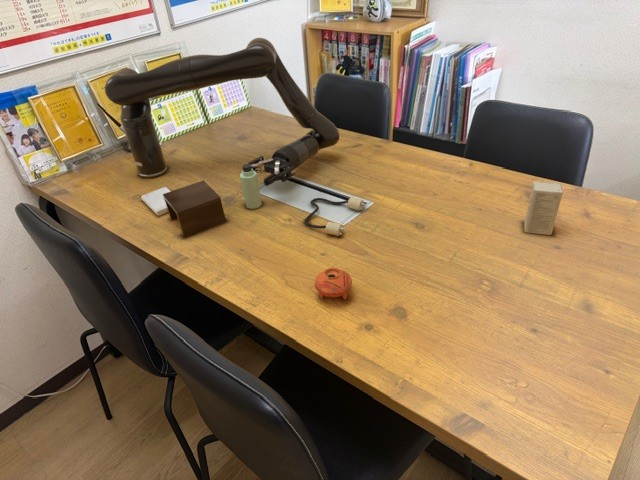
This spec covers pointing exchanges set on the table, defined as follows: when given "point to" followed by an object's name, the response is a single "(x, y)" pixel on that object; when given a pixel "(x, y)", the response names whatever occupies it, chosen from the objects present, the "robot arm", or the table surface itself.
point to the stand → (195, 207)
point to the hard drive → (156, 200)
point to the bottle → (250, 187)
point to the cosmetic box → (543, 207)
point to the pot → (333, 283)
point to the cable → (331, 226)
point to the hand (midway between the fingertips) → (254, 179)
